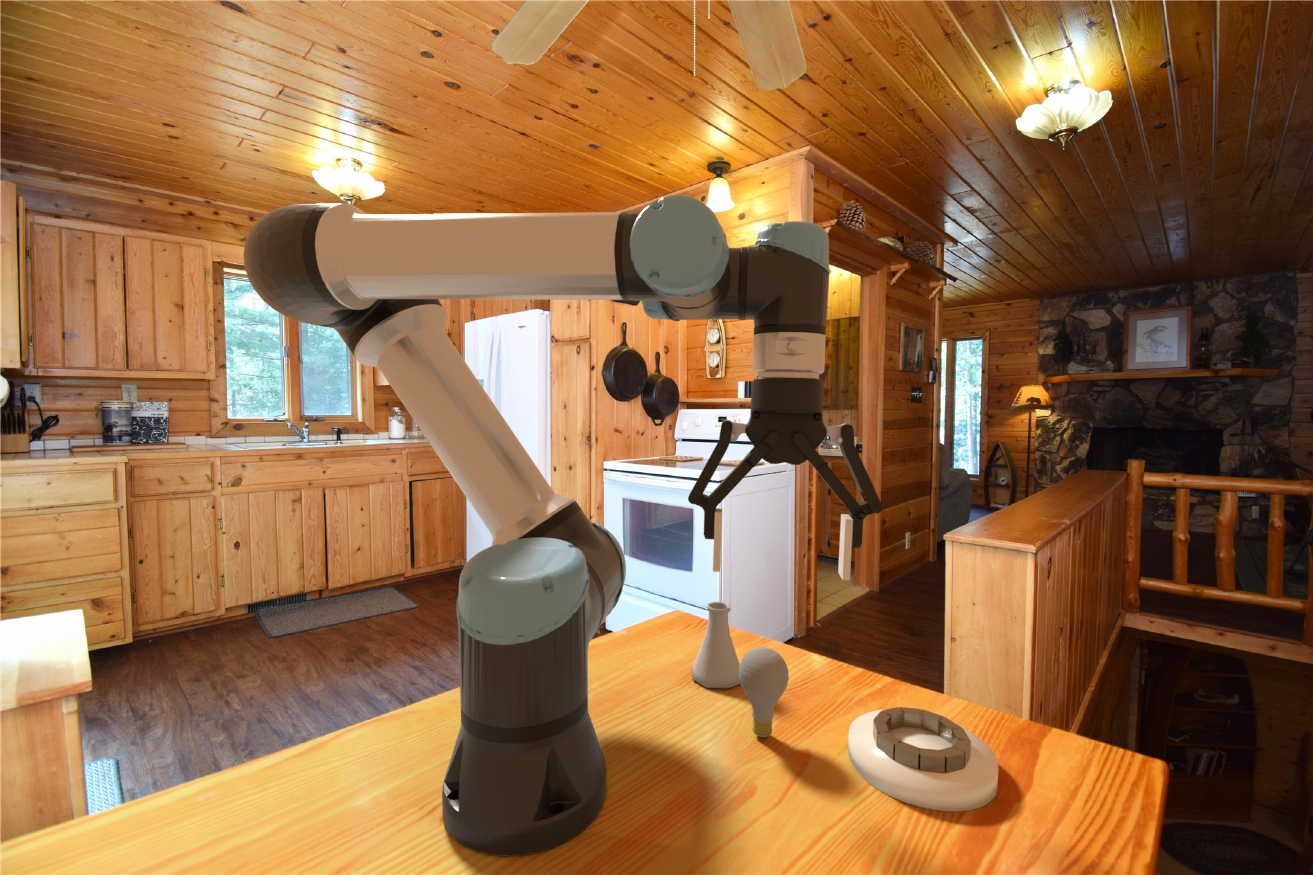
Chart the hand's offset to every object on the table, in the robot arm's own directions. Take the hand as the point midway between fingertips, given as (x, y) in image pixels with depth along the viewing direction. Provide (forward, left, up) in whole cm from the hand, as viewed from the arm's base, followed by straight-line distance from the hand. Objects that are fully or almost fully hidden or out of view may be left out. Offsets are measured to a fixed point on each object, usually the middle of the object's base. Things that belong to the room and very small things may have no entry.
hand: (779, 572), depth 64 cm
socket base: (+14, -2, -19) cm, 24 cm away
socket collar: (+14, -2, -17) cm, 22 cm away
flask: (-8, +13, -19) cm, 24 cm away
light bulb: (-2, 0, -19) cm, 19 cm away
